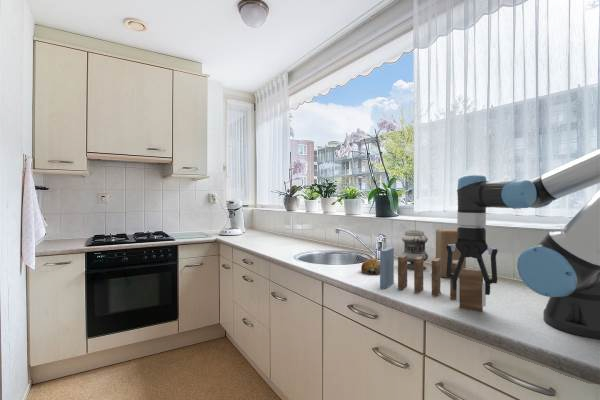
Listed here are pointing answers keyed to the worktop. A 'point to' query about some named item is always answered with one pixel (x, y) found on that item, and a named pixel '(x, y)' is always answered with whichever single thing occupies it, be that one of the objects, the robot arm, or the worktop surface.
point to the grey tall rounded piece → (414, 246)
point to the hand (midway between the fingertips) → (470, 302)
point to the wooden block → (442, 240)
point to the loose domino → (471, 289)
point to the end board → (386, 267)
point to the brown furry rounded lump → (371, 267)
